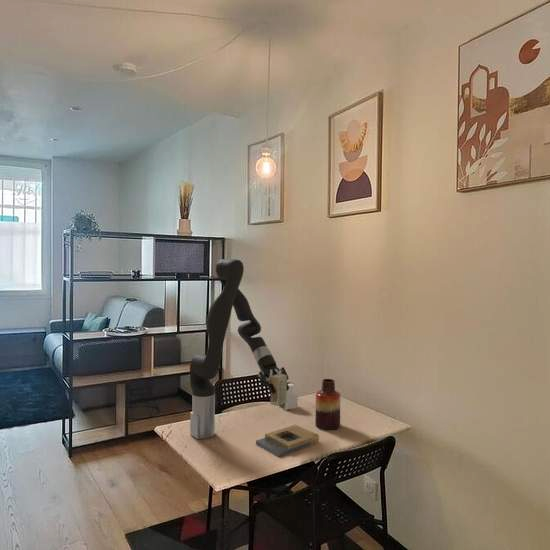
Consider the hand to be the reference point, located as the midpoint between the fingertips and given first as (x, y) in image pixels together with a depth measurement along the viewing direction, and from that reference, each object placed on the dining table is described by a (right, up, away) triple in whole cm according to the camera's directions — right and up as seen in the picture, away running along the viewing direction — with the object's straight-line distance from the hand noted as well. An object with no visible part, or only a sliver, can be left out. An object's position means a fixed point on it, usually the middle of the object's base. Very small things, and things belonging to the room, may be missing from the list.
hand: (281, 391), depth 188 cm
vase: (+21, -17, +7) cm, 28 cm away
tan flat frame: (+2, -18, -12) cm, 21 cm away
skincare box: (-1, -6, +1) cm, 6 cm away
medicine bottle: (+4, -16, +31) cm, 35 cm away
